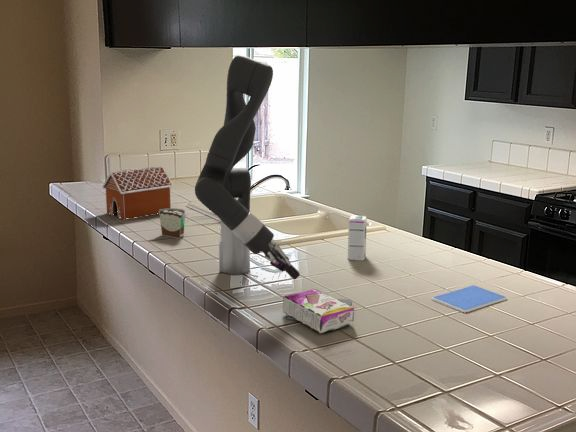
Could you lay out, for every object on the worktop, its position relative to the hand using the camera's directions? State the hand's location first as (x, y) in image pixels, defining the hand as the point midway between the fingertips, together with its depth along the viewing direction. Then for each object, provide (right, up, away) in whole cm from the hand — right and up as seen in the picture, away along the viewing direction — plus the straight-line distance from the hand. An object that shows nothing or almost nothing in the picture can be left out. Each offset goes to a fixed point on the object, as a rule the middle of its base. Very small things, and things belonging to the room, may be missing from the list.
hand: (297, 276), depth 171 cm
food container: (-46, +9, +71) cm, 85 cm away
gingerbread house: (-68, +18, +105) cm, 127 cm away
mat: (+6, -9, 0) cm, 11 cm away
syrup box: (+21, +2, +46) cm, 51 cm away
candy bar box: (0, -6, -1) cm, 6 cm away
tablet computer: (+50, -8, +10) cm, 51 cm away
